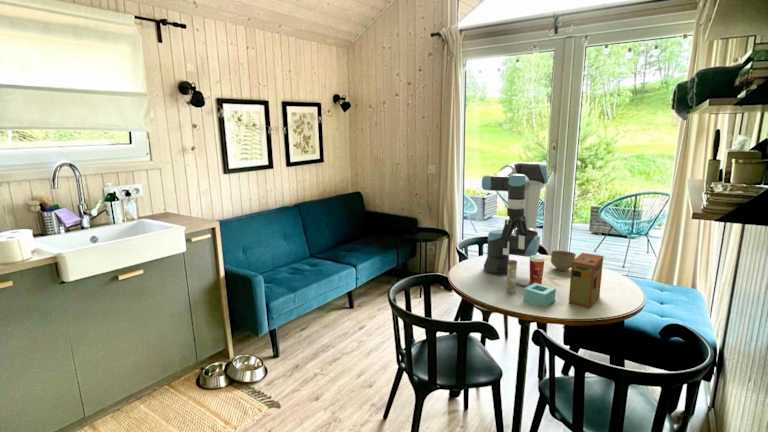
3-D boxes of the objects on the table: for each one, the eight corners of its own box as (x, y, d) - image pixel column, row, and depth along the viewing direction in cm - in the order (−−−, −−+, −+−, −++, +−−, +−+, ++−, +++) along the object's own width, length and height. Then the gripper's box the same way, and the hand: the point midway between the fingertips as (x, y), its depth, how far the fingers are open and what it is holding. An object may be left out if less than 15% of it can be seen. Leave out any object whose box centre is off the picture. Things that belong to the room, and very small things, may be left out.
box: (578, 292, 196) (582, 252, 191) (599, 296, 190) (603, 256, 186) (568, 304, 183) (572, 261, 179) (590, 309, 177) (594, 265, 173)
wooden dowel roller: (504, 292, 197) (506, 261, 194) (509, 290, 200) (511, 259, 196) (512, 295, 194) (513, 263, 191) (517, 292, 197) (518, 261, 193)
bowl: (576, 268, 229) (577, 251, 227) (572, 275, 218) (574, 257, 216) (552, 264, 235) (553, 248, 233) (547, 271, 225) (549, 253, 223)
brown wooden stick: (508, 282, 210) (508, 280, 209) (509, 282, 210) (509, 280, 210) (527, 288, 202) (527, 286, 202) (528, 287, 202) (528, 285, 202)
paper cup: (536, 286, 203) (537, 260, 200) (524, 282, 210) (525, 256, 207) (547, 284, 207) (549, 257, 204) (535, 279, 213) (536, 253, 210)
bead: (523, 300, 188) (524, 288, 186) (534, 294, 194) (535, 282, 193) (544, 307, 180) (544, 294, 179) (554, 300, 187) (555, 288, 185)
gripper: (508, 212, 177) (506, 259, 182) (536, 205, 193) (534, 247, 198) (493, 210, 183) (491, 255, 187) (522, 203, 199) (520, 244, 203)
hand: (513, 251), depth 192 cm, fingers open, 13 cm apart
